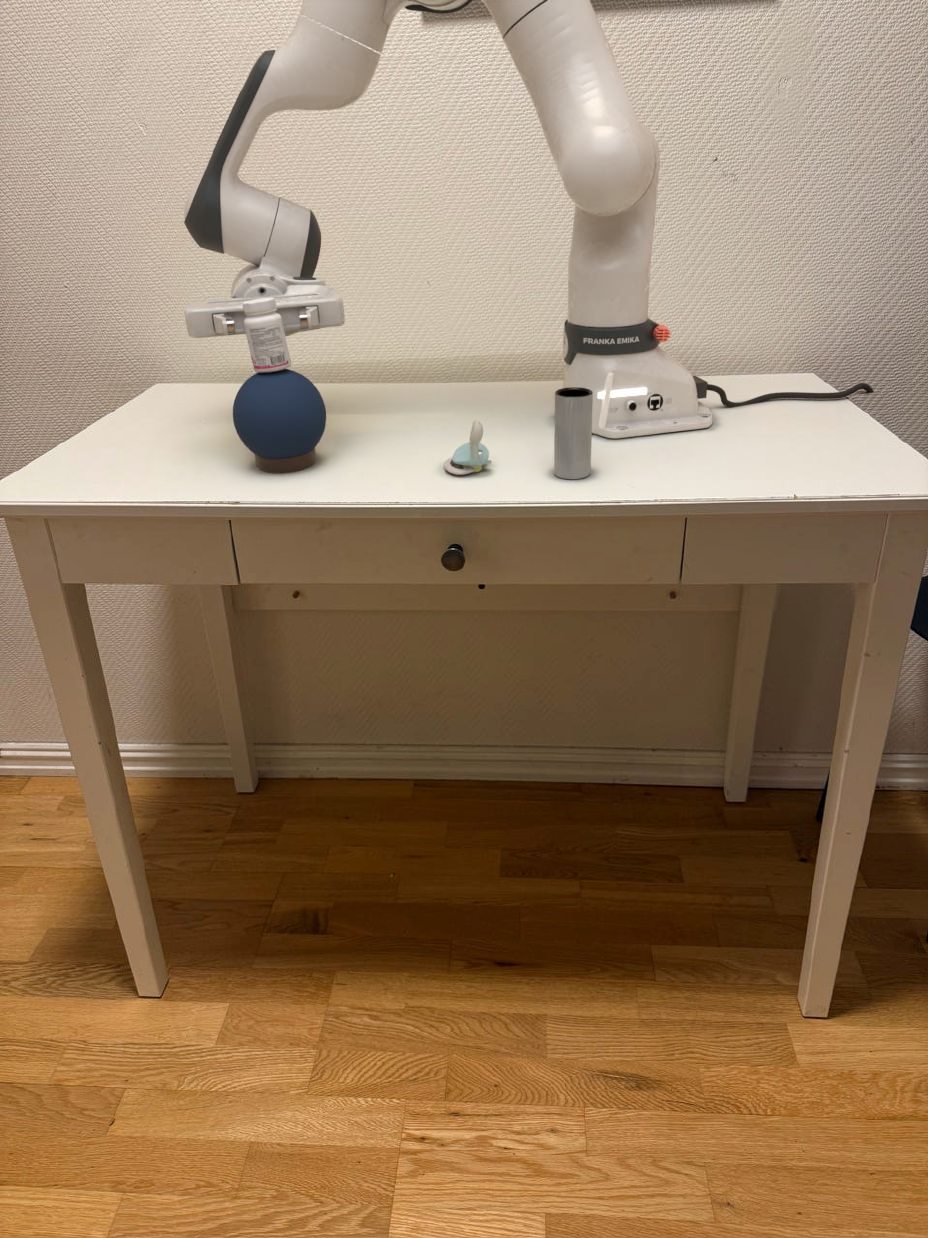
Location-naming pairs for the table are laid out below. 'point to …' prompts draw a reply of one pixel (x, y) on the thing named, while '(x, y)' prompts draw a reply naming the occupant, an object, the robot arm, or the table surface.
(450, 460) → the pacifier
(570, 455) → the grey cylinder
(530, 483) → the table surface
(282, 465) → the ball stand
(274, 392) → the ball
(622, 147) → the robot arm
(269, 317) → the pill bottle
